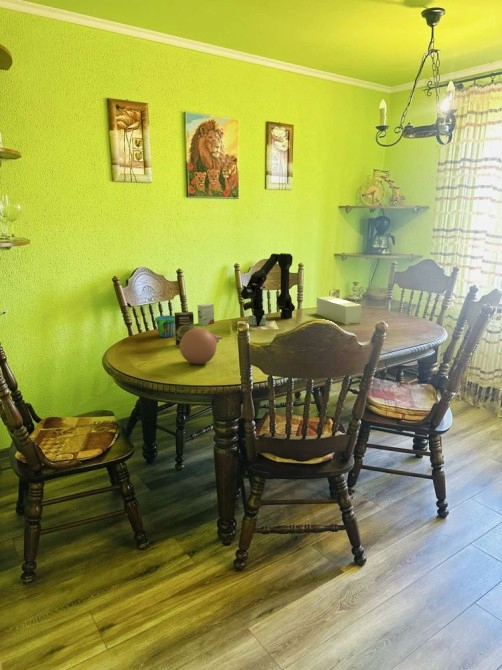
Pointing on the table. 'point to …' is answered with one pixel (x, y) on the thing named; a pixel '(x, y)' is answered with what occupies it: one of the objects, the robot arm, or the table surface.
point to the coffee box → (182, 325)
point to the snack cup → (165, 325)
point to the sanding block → (253, 321)
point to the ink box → (205, 314)
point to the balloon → (198, 345)
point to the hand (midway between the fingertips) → (257, 324)
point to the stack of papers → (339, 310)
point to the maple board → (268, 326)
